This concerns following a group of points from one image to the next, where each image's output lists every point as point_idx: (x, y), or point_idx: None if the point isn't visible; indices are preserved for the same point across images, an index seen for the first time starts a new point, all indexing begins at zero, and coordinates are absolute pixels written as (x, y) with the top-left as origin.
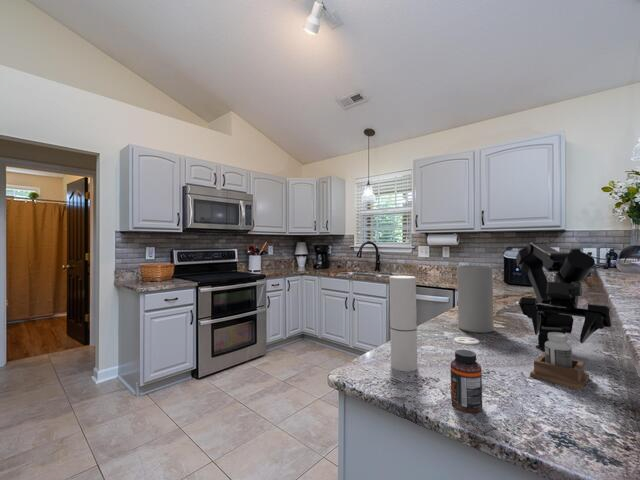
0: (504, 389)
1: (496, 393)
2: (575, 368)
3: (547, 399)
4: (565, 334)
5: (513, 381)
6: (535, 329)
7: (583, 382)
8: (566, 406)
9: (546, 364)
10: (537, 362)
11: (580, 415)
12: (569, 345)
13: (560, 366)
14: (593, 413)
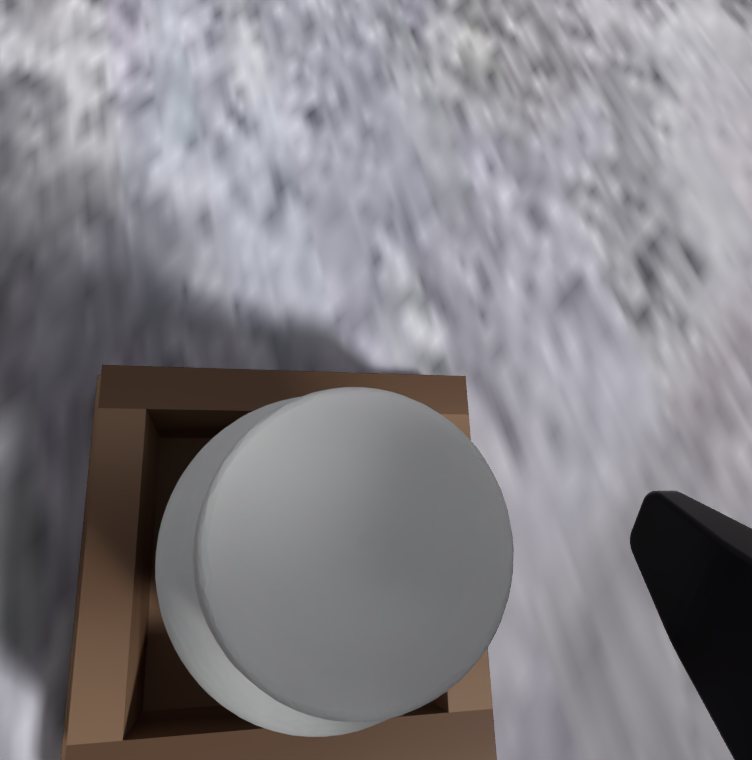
0: (469, 89)
1: (475, 19)
2: (127, 440)
3: (258, 102)
4: (235, 623)
5: (483, 233)
6: (712, 522)
7: (88, 479)
8: (157, 76)
9: (362, 375)
10: (434, 376)
11: (81, 15)
12: (173, 552)
13: (251, 395)
14: (20, 76)
